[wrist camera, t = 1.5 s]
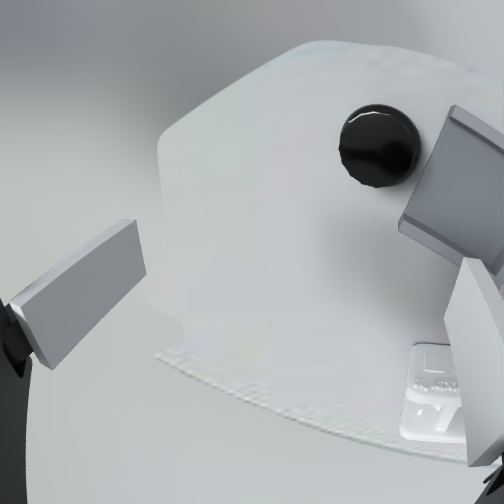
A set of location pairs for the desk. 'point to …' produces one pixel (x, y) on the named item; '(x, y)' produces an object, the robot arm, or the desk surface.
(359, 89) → the desk surface
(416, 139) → the ink bottle
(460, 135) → the tray
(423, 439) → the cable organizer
